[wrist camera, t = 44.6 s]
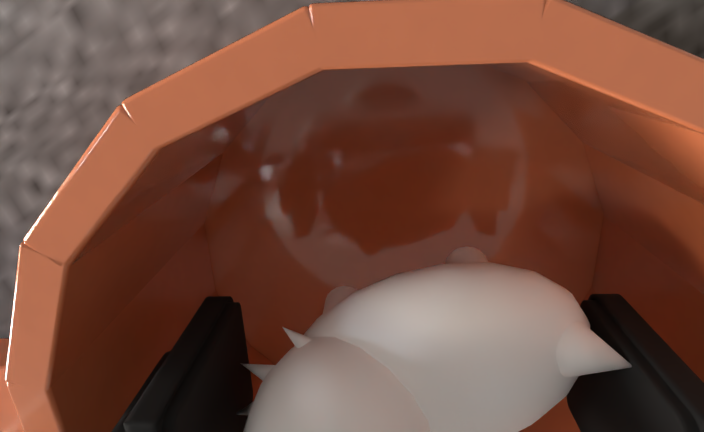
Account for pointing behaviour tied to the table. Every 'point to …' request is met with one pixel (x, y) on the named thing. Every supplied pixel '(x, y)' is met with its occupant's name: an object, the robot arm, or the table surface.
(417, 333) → the toy creature
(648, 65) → the pot
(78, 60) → the table surface
